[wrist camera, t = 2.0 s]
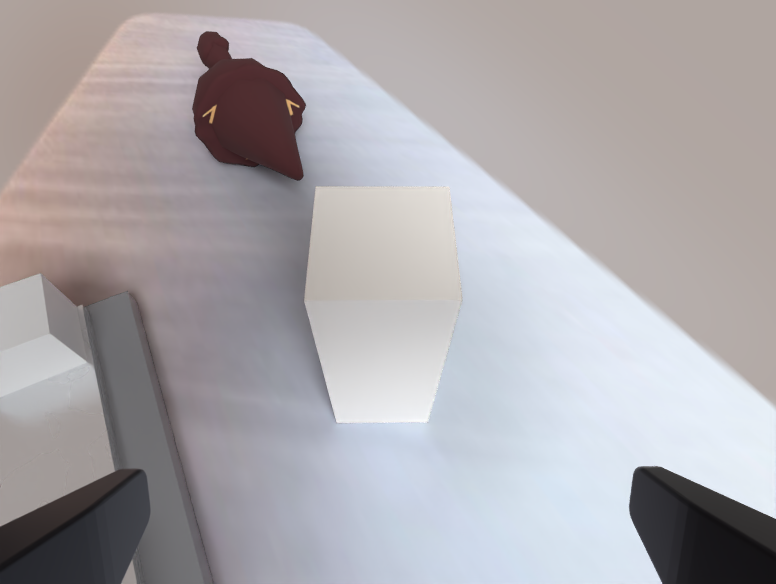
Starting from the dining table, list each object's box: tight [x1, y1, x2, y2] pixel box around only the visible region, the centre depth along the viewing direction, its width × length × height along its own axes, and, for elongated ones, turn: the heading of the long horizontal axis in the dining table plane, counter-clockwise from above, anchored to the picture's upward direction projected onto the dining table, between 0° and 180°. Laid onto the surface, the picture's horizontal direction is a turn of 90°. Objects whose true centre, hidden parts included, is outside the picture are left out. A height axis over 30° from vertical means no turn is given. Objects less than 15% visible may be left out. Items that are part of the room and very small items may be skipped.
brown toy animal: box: [192, 31, 306, 181], centre depth 30 cm, size 7×7×15 cm
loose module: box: [304, 187, 462, 423], centre depth 19 cm, size 5×4×12 cm
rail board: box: [0, 273, 213, 584], centre depth 19 cm, size 19×9×5 cm, turn 28°
